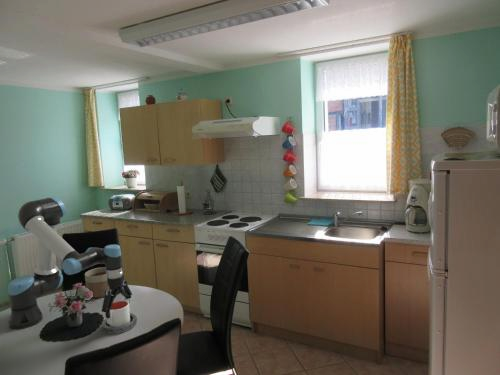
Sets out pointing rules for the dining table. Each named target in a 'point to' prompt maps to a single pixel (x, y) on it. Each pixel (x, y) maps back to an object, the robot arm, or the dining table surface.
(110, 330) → the ring coaster
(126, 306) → the cup
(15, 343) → the dining table surface
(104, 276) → the planter
